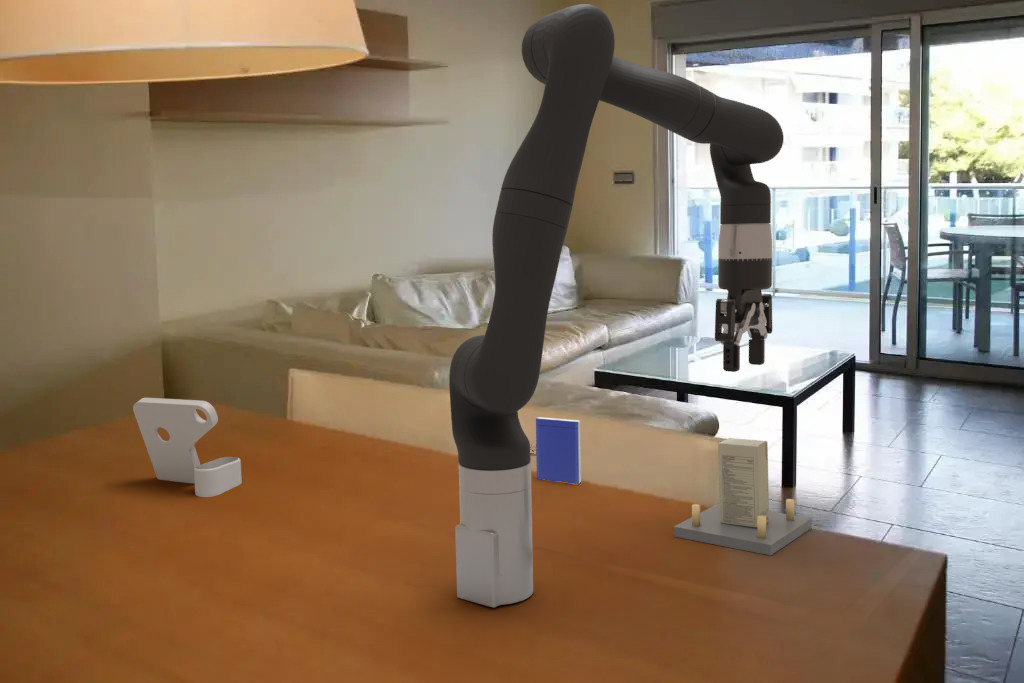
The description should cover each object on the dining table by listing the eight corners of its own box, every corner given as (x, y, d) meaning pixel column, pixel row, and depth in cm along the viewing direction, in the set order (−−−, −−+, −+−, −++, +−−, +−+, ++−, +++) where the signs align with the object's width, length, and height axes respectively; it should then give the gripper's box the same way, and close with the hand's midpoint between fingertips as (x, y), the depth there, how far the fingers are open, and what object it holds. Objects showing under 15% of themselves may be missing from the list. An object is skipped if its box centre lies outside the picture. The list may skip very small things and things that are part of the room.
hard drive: (578, 492, 168) (577, 421, 166) (536, 487, 172) (534, 418, 170) (581, 490, 169) (580, 420, 168) (540, 485, 173) (538, 416, 172)
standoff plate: (770, 555, 133) (771, 523, 133) (673, 536, 142) (673, 506, 142) (811, 528, 145) (812, 498, 144) (719, 512, 154) (719, 484, 154)
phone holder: (249, 492, 172) (244, 392, 170) (212, 508, 163) (206, 402, 161) (171, 485, 179) (165, 389, 177) (131, 499, 169) (124, 398, 167)
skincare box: (769, 521, 144) (770, 440, 142) (759, 529, 140) (759, 446, 139) (728, 515, 147) (728, 436, 146) (717, 522, 144) (717, 441, 142)
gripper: (748, 257, 131) (747, 376, 133) (789, 254, 142) (788, 363, 144) (698, 257, 136) (698, 372, 138) (742, 254, 147) (741, 360, 149)
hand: (744, 367), depth 141 cm, fingers open, 8 cm apart
